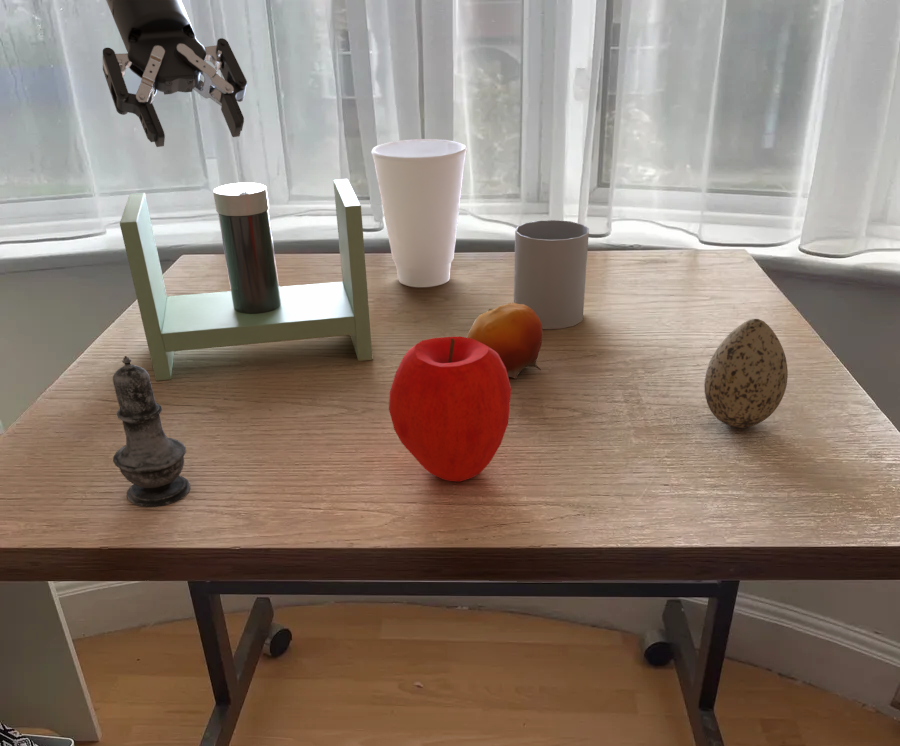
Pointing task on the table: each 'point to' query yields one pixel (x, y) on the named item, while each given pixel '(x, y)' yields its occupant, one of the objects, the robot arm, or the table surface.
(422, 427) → the apple
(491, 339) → the fruit
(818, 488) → the table surface
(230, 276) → the tumbler
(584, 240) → the cup
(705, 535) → the table surface
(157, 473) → the salt shaker
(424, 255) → the cup
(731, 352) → the decorative egg
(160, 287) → the shelf
